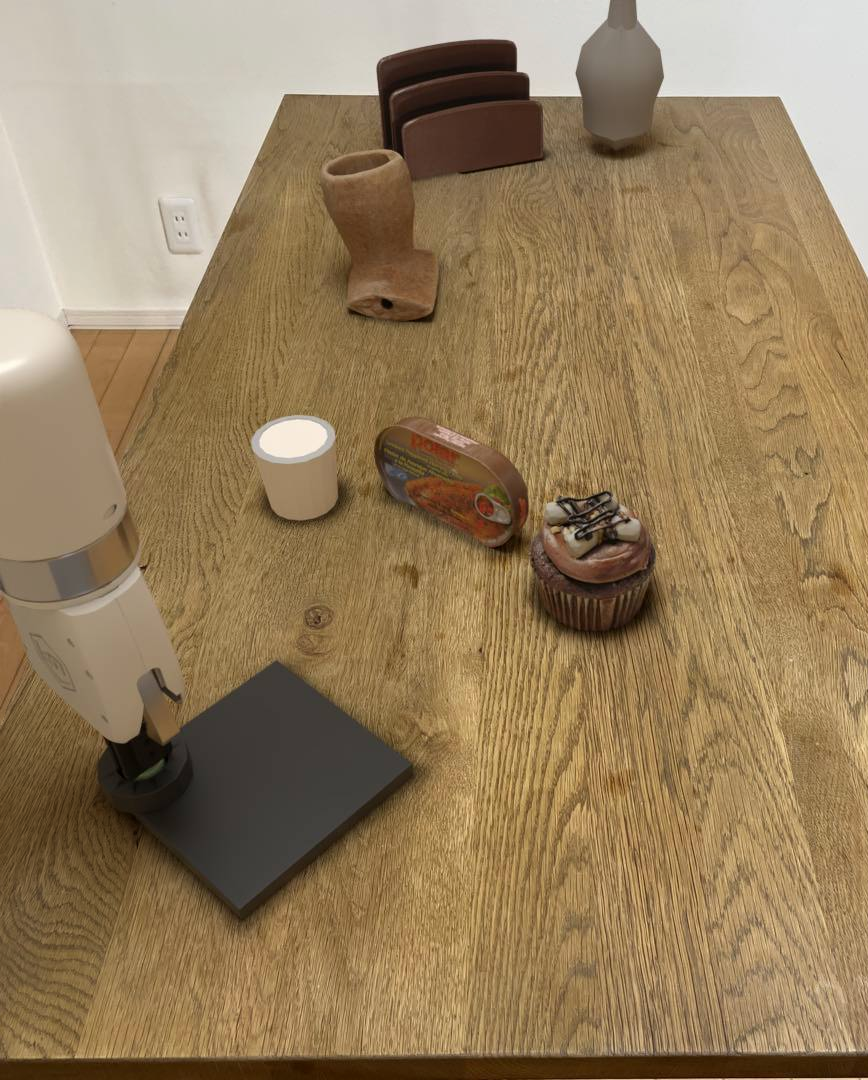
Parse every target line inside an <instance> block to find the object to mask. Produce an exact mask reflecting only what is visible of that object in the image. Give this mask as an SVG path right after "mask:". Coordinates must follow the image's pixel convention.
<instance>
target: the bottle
mask: <svg viewBox="0 0 868 1080" xmlns="http://www.w3.org/2000/svg"><path fill="white" fill-rule="evenodd" d="M664 72H665V71H664V65H663V60H662V52H661V48H660V47H659V46H658V45H657V43H656V42H655V41H654V39H653V38H652V36H650V34H649V33H648V31H647V30H646V29H645V28H644V25H642V24H641V22H640V20H638V9H637V0H609V6H608V12H607V18H606V19H605V20H604V22H602V23H601V24H600V25H599V26H598V28H596V29H595V31H594V32H593V33H592V34H591V35H590V36H589V38H588V39H587V40H586V41H585V42H584V43H583V44H582V45H581V48H580V52H579V56H578V61H577V65H576V69H575V77H576V81H577V84H578V89H579V92H580V96H581V100H582V127H583V128H584V129H585V130H586V131H588V132H589V133H590V134H591V135H592V136H593V137H594V138H595V139H597V141H599V143H601V144H602V145H604V146H606V147H608V148H610V149H611V150H614V151H616V152H617V151H619V150H622V149H625V148H626V147H629V146H631V145H632V144H635V142H637V141H638V140H639V139H641V138H642V137H644V136H645V135H646V134H647V133H649V132H650V131H651V130H652V124H653V117H654V110H655V104H656V100H657V97H658V95H659V93H660V90H661V87H662V86H663V85H662V84H663V82H664V79H665V75H664Z"/></svg>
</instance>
